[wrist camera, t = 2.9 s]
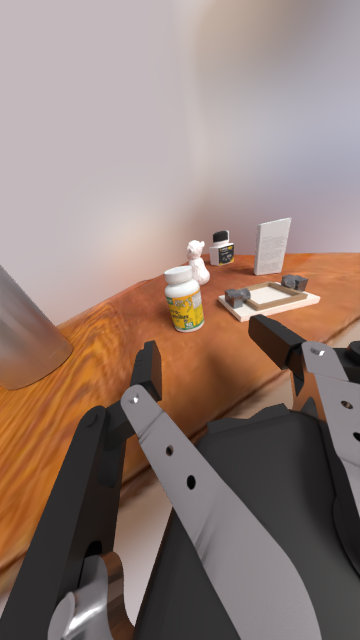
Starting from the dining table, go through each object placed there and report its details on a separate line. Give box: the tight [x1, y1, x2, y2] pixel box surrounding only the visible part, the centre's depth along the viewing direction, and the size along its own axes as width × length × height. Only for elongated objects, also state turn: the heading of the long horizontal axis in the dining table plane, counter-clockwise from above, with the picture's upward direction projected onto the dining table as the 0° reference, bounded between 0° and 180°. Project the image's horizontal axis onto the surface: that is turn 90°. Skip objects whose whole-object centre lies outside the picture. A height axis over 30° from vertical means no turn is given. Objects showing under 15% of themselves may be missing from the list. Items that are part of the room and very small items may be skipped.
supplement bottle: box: [164, 266, 204, 333], centre depth 21 cm, size 5×5×10 cm
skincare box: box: [254, 218, 291, 276], centre depth 34 cm, size 6×4×12 cm
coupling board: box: [219, 281, 320, 322], centre depth 24 cm, size 13×9×2 cm
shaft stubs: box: [225, 275, 308, 309], centre depth 24 cm, size 13×4×2 cm, turn 98°
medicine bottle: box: [210, 231, 234, 266], centre depth 54 cm, size 7×7×12 cm
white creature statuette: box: [186, 240, 210, 286], centre depth 38 cm, size 10×9×12 cm
